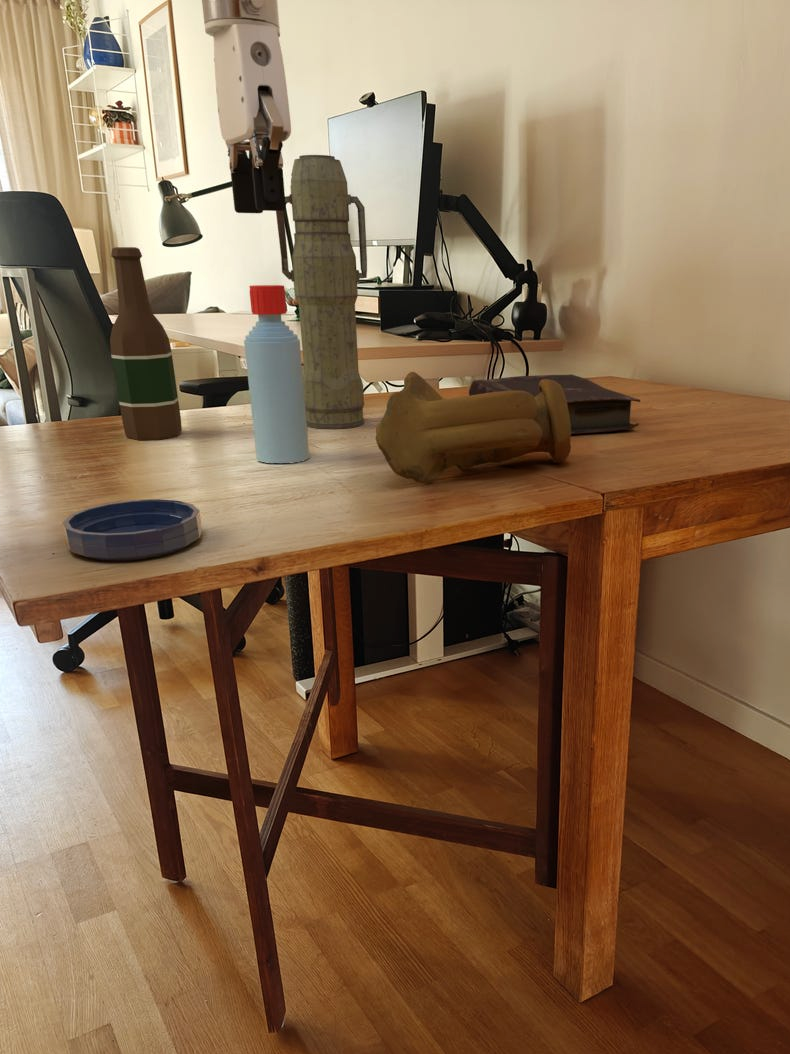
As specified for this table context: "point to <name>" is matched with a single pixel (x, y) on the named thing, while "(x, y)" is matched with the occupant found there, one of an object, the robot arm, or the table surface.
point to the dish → (132, 529)
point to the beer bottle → (142, 357)
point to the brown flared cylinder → (470, 428)
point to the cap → (268, 299)
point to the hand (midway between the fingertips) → (259, 210)
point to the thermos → (326, 289)
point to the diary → (572, 400)
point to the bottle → (276, 391)
